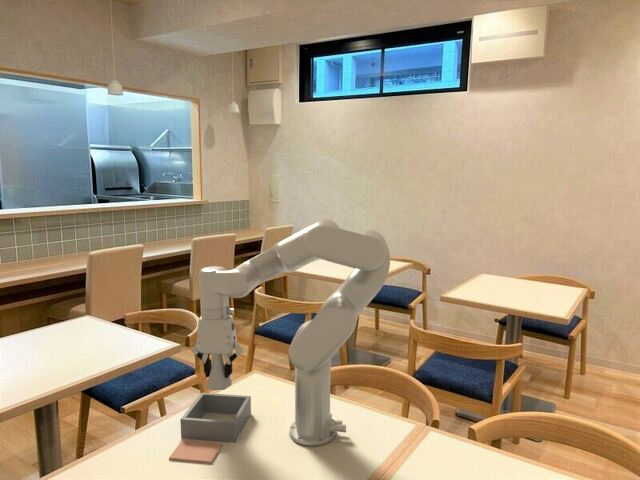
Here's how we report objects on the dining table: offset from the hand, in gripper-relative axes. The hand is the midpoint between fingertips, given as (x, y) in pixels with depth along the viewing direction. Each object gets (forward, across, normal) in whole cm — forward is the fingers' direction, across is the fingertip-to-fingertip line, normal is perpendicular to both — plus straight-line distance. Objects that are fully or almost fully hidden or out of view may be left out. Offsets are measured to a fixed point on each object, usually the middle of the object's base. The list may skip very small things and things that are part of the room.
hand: (218, 375), depth 129 cm
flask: (+3, 0, 0) cm, 3 cm away
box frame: (+15, +1, 0) cm, 15 cm away
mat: (+15, +2, +13) cm, 20 cm away
